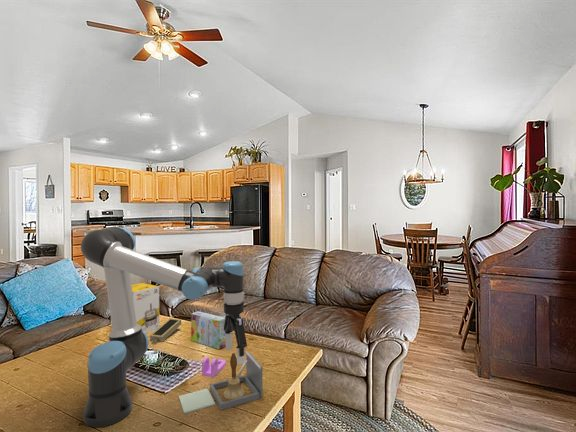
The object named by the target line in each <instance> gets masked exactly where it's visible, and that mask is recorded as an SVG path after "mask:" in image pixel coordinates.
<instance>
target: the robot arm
mask: <svg viewBox="0 0 576 432" xmlns="http://www.w3.org/2000/svg"><path fill="white" fill-rule="evenodd" d="M80 242H81V243H80V252H81V254H82V256H83V257H84V258H85V259H86V260H87V261H89V262H90V263H93V264H96V265H98V266H99V267H101V268H103V270H104V271H103V272H104V278H105V286H106V291H107V292H106V293H107V299H108V307H109V313H110V314H109V315H110V321H111V328H112V329H111V331H110V332H109V334H108V338H109V339H108V340H109V341H105V342H104V343H100V344H99V345H97V346H95V347H94V348H92V350H91V351H90V352H89V354H88V358H87V359H88V360H87V375H88V396H87V400H86V403H85V407H84V410H83V414H82V416H83V417H82V421H83V423H84V424H85V425H86V426H88V427H92V428H101V427H106V426H110V425H111V426H112V425H113V424H115V423H118V422H120V421H122V420H123V419H124V418H126V417H128V415H129V414H130V413H131V411H132V410H133V400H132V397H131V394H130V392H129V390H128V388H127V372H128V371H129V370H130V369H131V368H132V367H133V366H134V365H135V364H136V363H138V362H139V361H140V360H141V359H142V358H143V357H144V355H146V353H147V351H148V348H149V345H150V344H149V342H150V341H149V338H148V335H147V333H144V332H143V331H142V327H141V326H140V325H138V324H137V322H136V315H135V307H134V300H133V293H132V286H131V285H132V279H131V275H134V276H137V277H139V278H143V279H145V280H147V281H151V282H153V283H156V284H159V285H162V286H165V287H168V288H170V289H172V290H173V289H174V290H176V291H179V292H181V293H182V295H183V296H184V297H185V298H186V299H188V300H191V301H194V300H198V299H200V298H201V297H203V296H205V294H206V293H207V292H208V291H209V290H210V289H212V288H223V308H224V309H223V312H224V314H225V317H224V318H225V322H224V330H225V333H226V347H225V351H230V350H231V351H232V350H233V349H234V347H233V346H234V344H233V343H234V342H233V338H234V337H233V333H234V335H235V340H236V344H237V345H236V347H235V348H236V358H237V366H241V365H243V364H244V363H245V358H246V350H245V349H246V348H247V347H248V343H247V338H246V332H245V327H244V318H241V316H240V315H241V314H242V313H244V312H245V305H244V304H245V302H244V295H245V294H246V293H245V292H244V276H245V275H244V274H245V273H244V267H243V263H242V262H241V261H237V260H235V261H233V260H232V261H226V262H223V264H222V265H223V266H221V267H218V266H217V267H215V266H214V267H211V266H209V267H205V266H200V267H195V268H193V269H192V270H188V269H186V268H183V267H181V266H177V265H175V264H172V263H169V262H166V261H165V260H162V259H158V258H155V257H153V256H150V255H147V254H145V253H142V252H139V251H137V250H134V249H135V246H136V239H135V236H134V235H133V233H132V232H131V231H130V230H129V229H127V228H124V227H113V226H112V227H108V228H101V229H94V230H92V231H90V232H88V233H87V234H86V235H84V237H83V238H82V240H81V241H80Z"/></svg>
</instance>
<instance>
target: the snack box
mask: <svg viewBox="0 0 576 432" xmlns="http://www.w3.org/2000/svg"><path fill="white" fill-rule="evenodd" d="M224 322H225V317H223V316H219V315H216V314H211V313H208V312H203V311H198V310H197V311H195V312H191V314H190V325H191V326H190V333H191V334H190V336H191V337H190V340H191V341H192V342H194V343H197V344H201V345H203V346H207V347H210V348H213V349H216V350H219V351H220V350H222V349H223V348H226V333H225V330H224Z"/></svg>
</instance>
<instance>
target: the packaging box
mask: <svg viewBox="0 0 576 432" xmlns="http://www.w3.org/2000/svg"><path fill="white" fill-rule="evenodd" d="M131 286H132V293H133V300H134V307H135V315H136V322H137V324H138V325H140V326H141V327H142V331H143V332H144V333H146V334H147V333H149V332H152V331H153V332H154V331H155V330H157V329H158V328H159V327H160V326H161V325H160V286H159V285H154V284H150V283H145V282H140V283H134V284H131Z"/></svg>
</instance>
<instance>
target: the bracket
mask: <svg viewBox="0 0 576 432" xmlns="http://www.w3.org/2000/svg"><path fill="white" fill-rule="evenodd" d="M226 362H227V361H226V360H225V359H218V358H213V359H211V361H210V358H209V357H206V356H205V357H203V359H202V362H201V363H202V365H201V368H202V369H201V371H202V372H201V374H202V375H201V376H205V377H211V378H215V376H216V375H218V374H219V373H220V371H222V369H223V368H224V367H225V366H226V365H227V364H226Z"/></svg>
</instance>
